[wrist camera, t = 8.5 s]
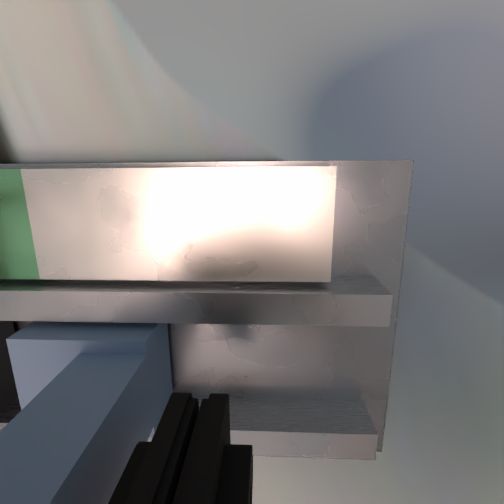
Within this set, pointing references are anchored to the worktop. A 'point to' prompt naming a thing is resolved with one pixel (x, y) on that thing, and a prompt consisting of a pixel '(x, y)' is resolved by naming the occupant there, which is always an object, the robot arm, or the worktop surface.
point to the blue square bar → (81, 407)
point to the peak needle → (6, 367)
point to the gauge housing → (227, 281)
